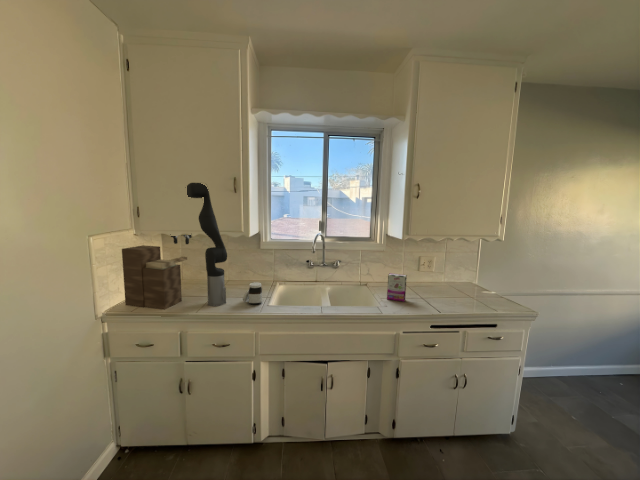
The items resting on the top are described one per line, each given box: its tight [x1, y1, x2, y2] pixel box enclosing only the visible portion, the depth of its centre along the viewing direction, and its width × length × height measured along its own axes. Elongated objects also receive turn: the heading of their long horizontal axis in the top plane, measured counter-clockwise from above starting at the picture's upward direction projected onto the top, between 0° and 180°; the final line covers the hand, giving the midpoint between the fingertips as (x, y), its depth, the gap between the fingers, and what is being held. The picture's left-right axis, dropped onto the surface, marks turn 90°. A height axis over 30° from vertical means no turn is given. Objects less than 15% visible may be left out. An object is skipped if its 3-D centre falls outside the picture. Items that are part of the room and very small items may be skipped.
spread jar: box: [242, 281, 263, 306], centre depth 157 cm, size 12×11×12 cm
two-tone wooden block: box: [121, 244, 183, 310], centre depth 150 cm, size 14×25×32 cm, turn 78°
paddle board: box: [146, 256, 188, 269], centre depth 155 cm, size 24×10×2 cm, turn 168°
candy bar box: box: [386, 273, 408, 303], centre depth 169 cm, size 11×5×16 cm, turn 68°
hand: (181, 244), depth 179 cm, fingers open, 8 cm apart
